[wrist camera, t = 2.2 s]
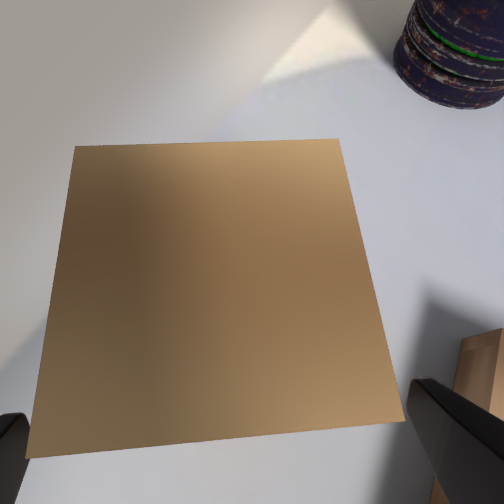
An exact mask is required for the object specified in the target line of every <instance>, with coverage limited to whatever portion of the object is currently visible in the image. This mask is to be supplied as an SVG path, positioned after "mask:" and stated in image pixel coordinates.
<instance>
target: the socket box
mask: <svg viewBox="0 0 504 504" xmlns="http://www.w3.org/2000/svg"><path fill="white" fill-rule="evenodd" d="M453 391H454V392H456V393H458V394H459V395H461V396H463V397H464V398H466V399H468V400H469V401H471V402H473V403H474V404H476V405H478V406H479V407H481V408H483V409H484V410H486V411H488V412H489V413H491V414H493V415H494V416H496V417H498V418H499V419H501V420H503V421H504V329H503V328H500V329H497V330H493V331H489V332H486V333H482V334H478V335H475V336H471V337H467V338H464V339H463V341H462V346H461V351H460V356H459V361H458V366H457V370H456V375H455V380H454V385H453ZM430 504H450V503H449V501H448V500H447V498H446V496H445V494H444V492H443V490H442V488H441V486H440V485H439V483H438V481H437V479H436V477H435V480H434V485H433V490H432V495H431V500H430Z"/></svg>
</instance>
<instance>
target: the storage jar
mask: <svg viewBox="0 0 504 504" xmlns="http://www.w3.org/2000/svg"><path fill="white" fill-rule="evenodd" d="M393 61H394V66H395V68H396V70H397V73H398V74H399V76H400V77H401V79H402V80H403V81H404V82H405V83H406V84H407V85H408V86H409V87H410V88H411V89H412V90H413V91H415V92H416V93H418V94H419V95H421V96H422V97H424V98H426V99H428V100H430V101H432V102H435V103H437V104H440V105H443V106H447V107H451V108H456V109H480V108H484V107H488V106H490V105H493V104H495V103H496V102H498V101H499V100H500V99H501V98H502V97H503V96H504V0H415V1H414V4H413V6H412V8H411V10H410V13H409V15H408V18H407V23H406V25H405V27H404V30H403V34H402V36H401V37H400V39H399V40H398V42H397V44H396V47H395V49H394V53H393Z"/></svg>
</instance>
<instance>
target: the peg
mask: <svg viewBox="0 0 504 504" xmlns="http://www.w3.org/2000/svg"><path fill="white" fill-rule="evenodd" d="M402 421H405V417H404V413H403V409H402V404H401V400H400V396H399V392H398V387H397V383H396V379H395V375H394V371H393V366H392V362H391V358H390V354H389V350H388V345H387V341H386V337H385V333H384V329H383V324H382V320H381V316H380V312H379V307H378V303H377V299H376V295H375V291H374V286H373V282H372V278H371V274H370V270H369V265H368V261H367V257H366V253H365V249H364V244H363V240H362V236H361V232H360V227H359V223H358V219H357V215H356V211H355V206H354V202H353V198H352V194H351V190H350V185H349V181H348V177H347V173H346V169H345V164H344V160H343V156H342V152H341V147H340V143H339V139H314V140H279V141H243V142H208V143H175V144H174V143H173V144H141V145H140V144H138V145H103V146H75V150H74V157H73V163H72V169H71V175H70V182H69V188H68V195H67V201H66V207H65V214H64V219H63V225H62V232H61V238H60V244H59V251H58V257H57V263H56V269H55V275H54V282H53V289H52V294H51V301H50V307H49V313H48V319H47V325H46V332H45V338H44V344H43V350H42V357H41V363H40V369H39V375H38V382H37V388H36V394H35V400H34V407H33V413H32V419H31V426H30V432H29V438H28V444H27V451H26V457H25V459H31V458H41V457H51V456H61V455H71V454H81V453H91V452H101V451H112V450H122V449H132V448H142V447H152V446H162V445H172V444H182V443H192V442H202V441H212V440H222V439H232V438H242V437H252V436H262V435H272V434H282V433H292V432H302V431H312V430H322V429H332V428H342V427H352V426H362V425H372V424H382V423H392V422H402Z"/></svg>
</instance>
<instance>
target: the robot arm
mask: <svg viewBox="0 0 504 504" xmlns="http://www.w3.org/2000/svg"><path fill="white" fill-rule="evenodd" d="M406 406H407V412H408V415H409V417H410V419H411V422H412V424H413V426H414V428H415V431H416V433H417V435H418V438H419V440H420V442H421V445H422V447H423V449H424V452H425V454H426V456H427V459H428V461H429V463H430V466H431V468H432V470H433V472H434V474H435V477H436V479H437V481H438V483H439V485H440V486H441V488H442V490H443V492H444V494H445V496H446V498H447V500H448V501H449V503H450V504H504V421H503V420H501V419H499V418H498V417H496V416H494V415H493V414H491V413H489V412H488V411H486V410H484V409H483V408H481V407H479V406H478V405H476V404H474V403H473V402H471V401H469V400H468V399H466V398H464V397H463V396H461V395H459V394H458V393H456V392H454V391H453V390H451V389H449V388H448V387H446V386H444V385H443V384H441V383H439V382H438V381H436V380H434V379H433V378H431V377H418V378H413V379H412V380H411V383H410V387H409V392H408V397H407V403H406ZM29 432H30V425H29V422H28V420H27V417H26V415H25V414H24V413H21V412H19V413H8V414H3V415H1V416H0V504H15V501H16V498H17V495H18V492H19V489H20V487H21V484H22V481H23V478H24V475H25V472H26V469H27V467H28V464H29V461H30V459H25V457H26V451H27V444H28V438H29Z"/></svg>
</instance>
